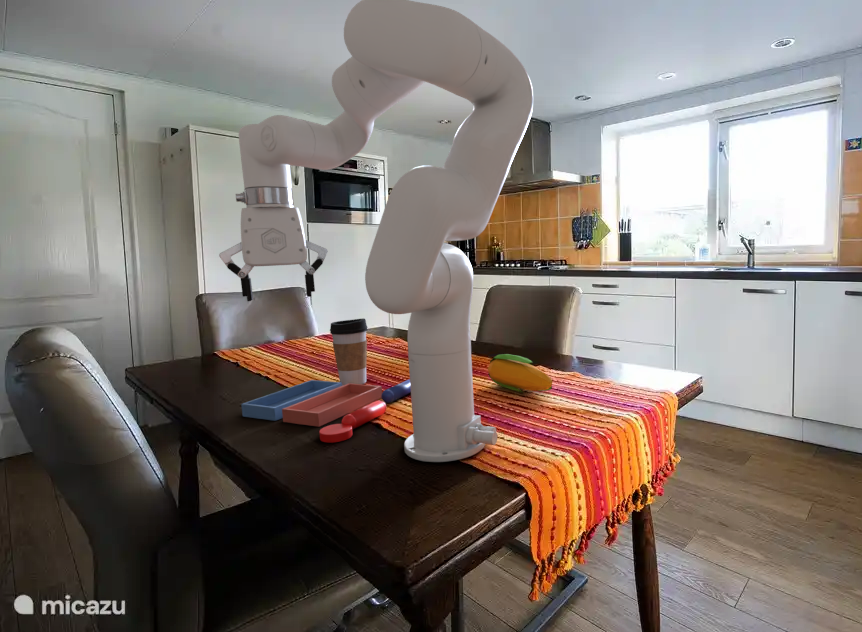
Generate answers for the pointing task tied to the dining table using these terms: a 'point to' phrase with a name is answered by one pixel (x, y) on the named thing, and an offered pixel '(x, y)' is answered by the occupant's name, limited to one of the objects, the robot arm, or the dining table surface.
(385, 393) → the blue spoon
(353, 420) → the red spoon
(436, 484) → the dining table surface
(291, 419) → the rose tray
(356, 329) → the coffee cup
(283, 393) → the blue tray
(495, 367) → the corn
